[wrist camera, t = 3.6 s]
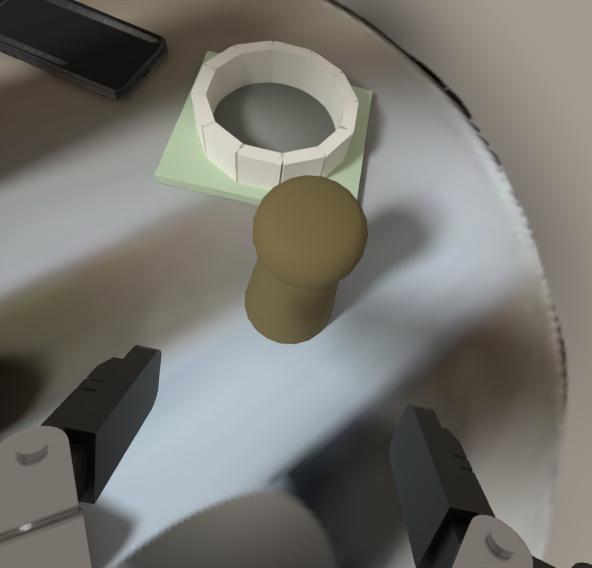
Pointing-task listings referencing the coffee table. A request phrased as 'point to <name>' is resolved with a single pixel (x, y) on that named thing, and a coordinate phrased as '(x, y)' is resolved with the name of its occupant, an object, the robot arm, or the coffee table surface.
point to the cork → (302, 256)
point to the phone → (80, 44)
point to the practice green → (266, 123)
